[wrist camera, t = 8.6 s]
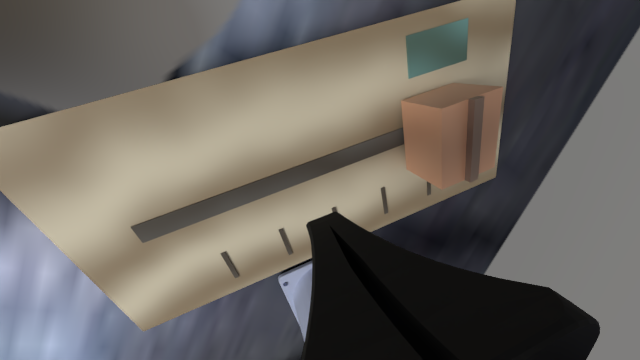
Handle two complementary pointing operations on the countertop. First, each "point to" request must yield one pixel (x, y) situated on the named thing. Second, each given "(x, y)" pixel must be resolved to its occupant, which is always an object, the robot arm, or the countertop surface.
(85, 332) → the countertop surface
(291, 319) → the countertop surface
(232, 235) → the fader console
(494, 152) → the fader knob
